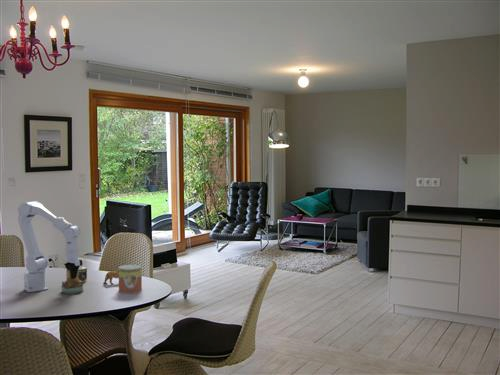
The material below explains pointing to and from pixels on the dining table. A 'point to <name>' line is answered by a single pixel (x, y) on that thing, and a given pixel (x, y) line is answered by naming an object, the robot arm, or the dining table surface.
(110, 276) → the lion figurine
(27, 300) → the dining table surface
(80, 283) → the brown wooden rectangular frame
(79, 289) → the pale green domed part
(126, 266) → the canned food
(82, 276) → the medicine bottle
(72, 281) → the block
